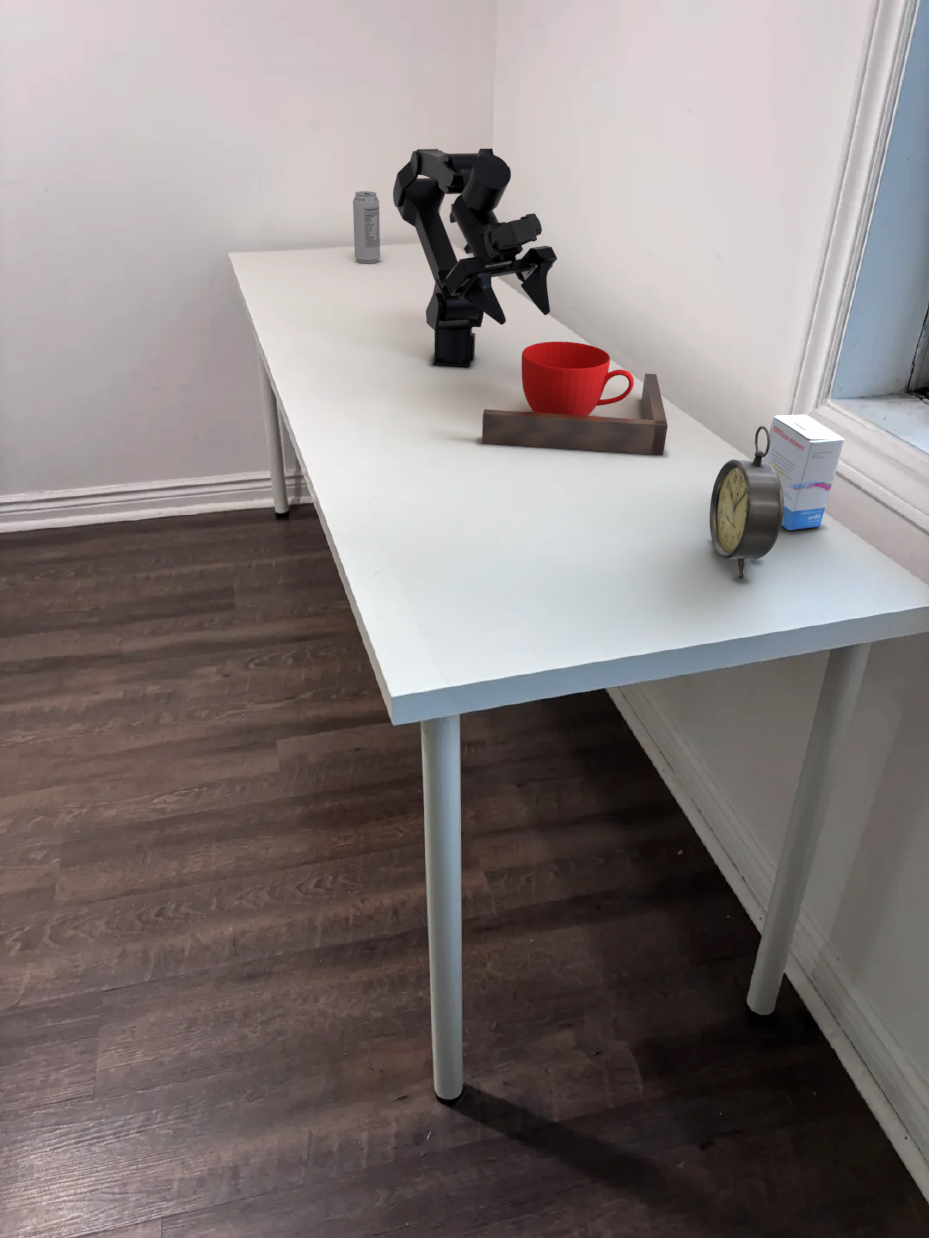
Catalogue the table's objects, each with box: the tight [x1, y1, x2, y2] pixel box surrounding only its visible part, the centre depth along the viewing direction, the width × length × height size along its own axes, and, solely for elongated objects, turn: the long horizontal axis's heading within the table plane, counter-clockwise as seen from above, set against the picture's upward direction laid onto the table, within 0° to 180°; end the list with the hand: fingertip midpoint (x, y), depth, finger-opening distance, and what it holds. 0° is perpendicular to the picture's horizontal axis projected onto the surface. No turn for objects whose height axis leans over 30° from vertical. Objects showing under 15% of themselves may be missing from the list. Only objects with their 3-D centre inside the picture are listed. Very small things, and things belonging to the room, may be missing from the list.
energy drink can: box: [352, 190, 381, 264], centre depth 222 cm, size 6×6×15 cm
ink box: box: [762, 414, 845, 531], centre depth 116 cm, size 9×5×12 cm, turn 17°
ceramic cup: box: [521, 341, 635, 416], centre depth 141 cm, size 13×17×10 cm
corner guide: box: [481, 372, 668, 456], centre depth 143 cm, size 26×22×4 cm
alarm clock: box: [709, 425, 784, 580], centre depth 105 cm, size 11×5×16 cm, turn 5°
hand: (526, 318), depth 145 cm, fingers open, 9 cm apart
